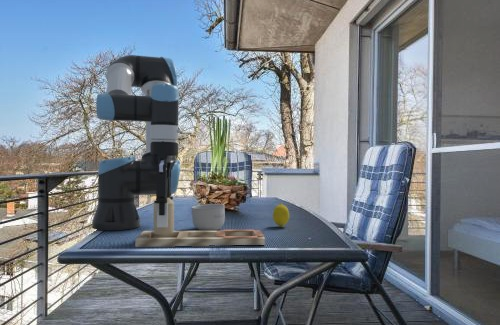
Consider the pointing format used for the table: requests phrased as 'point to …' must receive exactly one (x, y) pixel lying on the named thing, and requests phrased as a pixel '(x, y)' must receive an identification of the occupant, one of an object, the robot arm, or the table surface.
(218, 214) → the teacup
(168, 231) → the candle
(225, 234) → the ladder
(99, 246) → the table surface
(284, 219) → the lemon
